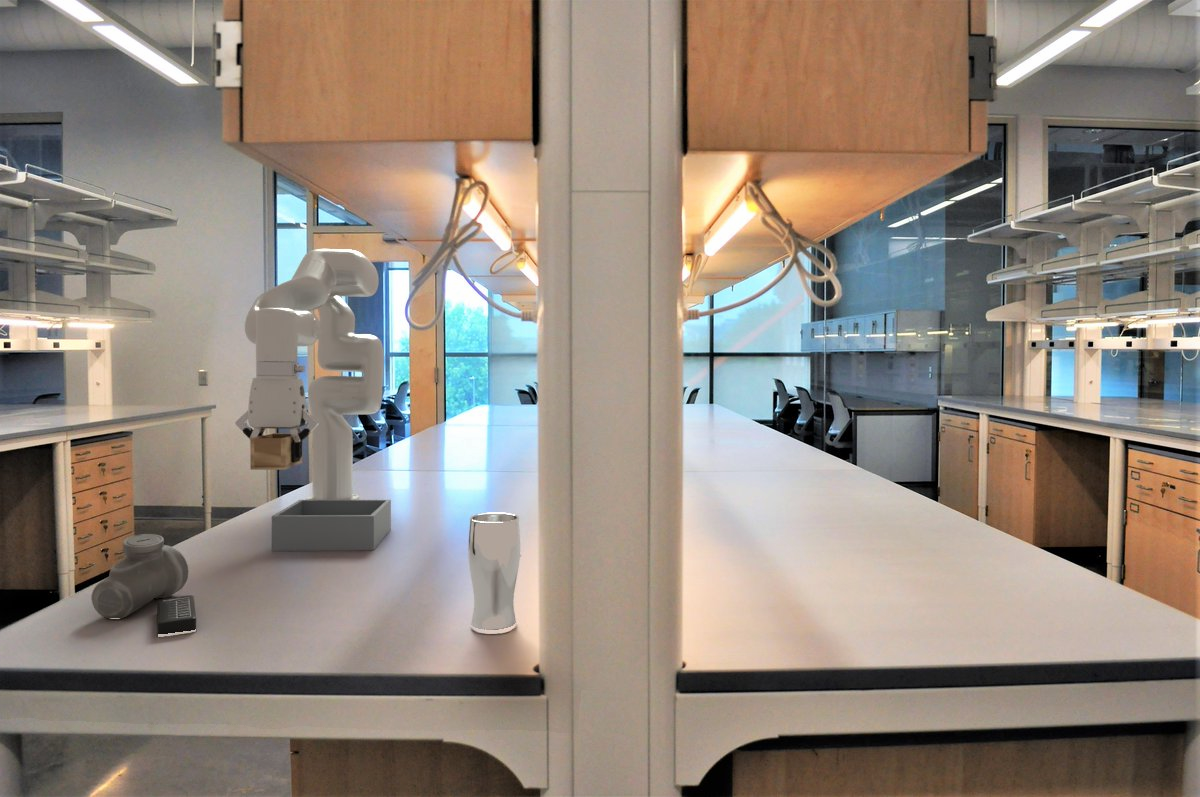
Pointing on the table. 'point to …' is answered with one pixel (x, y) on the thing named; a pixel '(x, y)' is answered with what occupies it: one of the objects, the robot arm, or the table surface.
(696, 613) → the table surface
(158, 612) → the multiport hub
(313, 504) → the box
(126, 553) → the pipe fitting
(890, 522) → the table surface
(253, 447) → the oak crate
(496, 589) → the beer glass
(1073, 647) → the table surface
